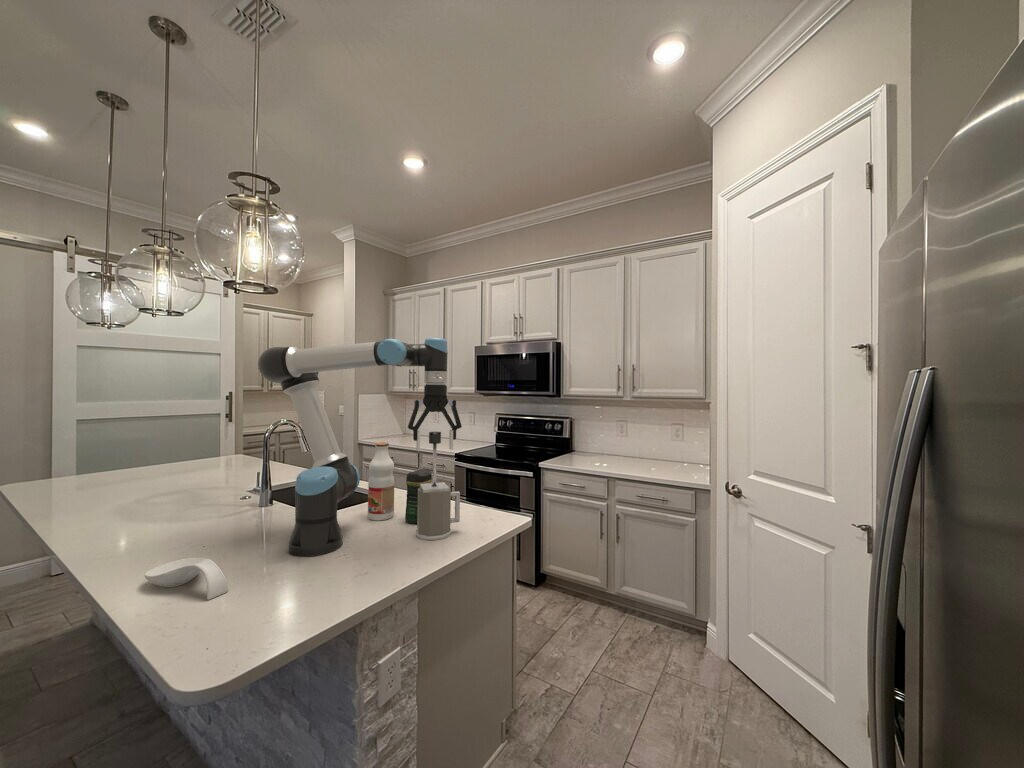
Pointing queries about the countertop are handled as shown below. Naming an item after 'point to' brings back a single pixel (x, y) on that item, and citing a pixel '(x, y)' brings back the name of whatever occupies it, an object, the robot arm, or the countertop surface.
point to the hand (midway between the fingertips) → (434, 449)
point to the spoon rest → (189, 575)
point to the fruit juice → (381, 484)
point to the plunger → (434, 451)
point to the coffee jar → (415, 492)
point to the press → (436, 511)
